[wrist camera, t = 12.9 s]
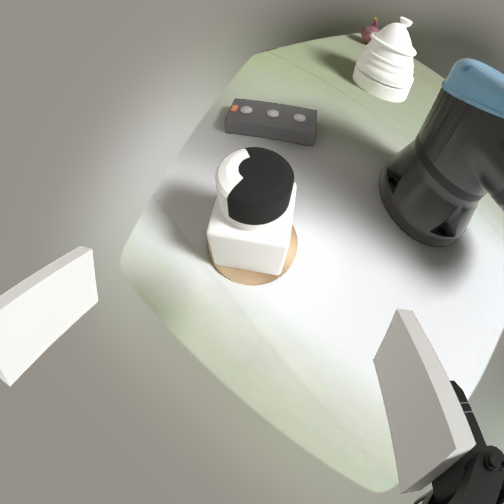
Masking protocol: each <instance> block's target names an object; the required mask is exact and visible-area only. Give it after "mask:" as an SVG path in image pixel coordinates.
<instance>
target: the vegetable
mask: <svg viewBox="0 0 504 504" xmlns="http://www.w3.org/2000/svg"><path fill="white" fill-rule="evenodd" d="M377 21H378V20H377V19H376V18H375V21H374V24H373V25H372V26H366V27H364V28H363V29H362V31H361V35H362V37H363V39H364V40H365V41H366V42H367V43H369V42H370V41H371V40H372V39H371V37H370V34H371V33H372V32H379V30H378V29H377Z"/></svg>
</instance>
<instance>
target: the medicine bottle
mask: <svg viewBox="0 0 504 504" xmlns="http://www.w3.org/2000/svg"><path fill="white" fill-rule="evenodd" d="M215 179H216V186H217V193H218V194H217V197H216V200H215V204H214V207H213V210H212V214H211V217H210V220H209V224H208V227H207V231H206V235H207V239H208V242H209V246H210V249H211V253H212V256H213V260H214V263H215V264H216V265H220V266H226V267H231V268H237V269H243V270H248V271H254V272H260V273H265V274H271V275H280V274H281V271H282V268H283V265H284V261H285V258H286V255H287V251H288V248H289V243H290V236H291V229H292V221H293V213H294V206H295V197H296V189H297V185H296V183H295V182H294V173H293V170H292V168H291V166H290V164H289V163H288V162H287V161H286V160H285V159H284V158H283V157H282V156H281V155H279V154H277V153H276V152H274V151H271V150H269V149H265V148H259V147H250V148H244V149H240V150H237V151H235V152H233V153H231V154H230V155H228V156H227V157H226V158H225V159H223V160H222V162H221V163H220V164H219V166H218V168H217V171H216V176H215Z"/></svg>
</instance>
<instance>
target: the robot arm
mask: <svg viewBox="0 0 504 504" xmlns="http://www.w3.org/2000/svg"><path fill="white" fill-rule="evenodd" d="M379 186H380V193H381V197H382V200H383V202H384V205H385V207H386V209H387V210H388V212H389V214H390V215H391V217H392V218H393V219H394V221H395V222H396V223H397V224H398V225H399V226H400V227H401V228H402V229H403V230H404V231H405V232H406V233H407V234H408V235H410V236H411V237H413V238H414V239H416V240H417V241H419V242H421V243H424V244H426V245H429V246H434V247H443V246H447V245H449V244H451V243H453V242H454V241H455V240H456V239H457V238H459V237H460V236H461V235H462V234H463V233H464V231H465V230H466V228H467V226H468V224H469V222H470V219H471V217H472V215H473V213H474V211H475V208H476V206H477V204H478V202H479V200H480V199H481V198H482V197H483V196H484V195H485V194H486V193H487V192H488V193H489V194H490V196H491V197H492V198H493V199H494V200H495V202H496V203H497V204H498V205H499V207H500V208H501V209H502V210H503V212H504V75H503V74H501V73H500V72H499V71H497V70H495V69H493V68H492V67H490V66H488V65H486V64H484V63H481V62H479V61H476V60H473V59H468V58H467V59H460V60H459V61H457V62H456V63H455V64H454V66H453V68H452V69H451V71H450V73H449V75H448V77H447V78H446V80H444V81H443V82H442V88H441V90H440V92H439V94H438V96H437V98H436V100H435V102H434V104H433V106H432V108H431V110H430V112H429V114H428V116H427V118H426V120H425V122H424V124H423V126H422V127H421V129H420V131H419V133H418V135H417V137H416V139H415V140H414V141H413V142H411V143H410V144H409V145H407V146H406V147H405V148H404V149H402V150H401V151H400V152H398V153H397V154H396V155H394V156H393V157H392V158H391V159H390V160H389V161H388V163H387V164H386V166H385V168H384V170H383V172H382V174H381V176H380V183H379ZM97 302H98V296H97V288H96V280H95V272H94V262H93V251H92V249H90V248H86V247H82V246H80V247H78V248H76V249H74V250H73V251H71V252H69V253H67V254H66V255H64V256H62V257H61V258H59V259H57V260H56V261H54V262H53V263H51V264H49V265H47V266H46V267H44V268H42V269H41V270H39V271H37V272H36V273H34V274H33V275H31V276H29V277H28V278H26V279H25V280H23V281H22V282H20V283H19V284H17V285H16V286H14V287H13V288H11V289H10V290H8V291H7V292H5V293H4V294H2V295H1V296H0V378H1V379H2V380H3V381H4V382H5V383H6V384H8V385H9V386H11V385H12V384H13V383H14V382H15V381H16V380H17V379H18V378H19V377H20V375H21V374H23V372H24V371H25V370H26V369H27V368H28V367H29V366H30V365H31V364H32V363H33V362H34V361H35V360H36V359H37V358H38V357H39V356H40V355H41V354H42V353H43V352H44V351H45V350H46V349H47V348H48V347H49V346H50V345H51V344H53V343H54V342H55V341H56V340H57V339H58V338H59V337H60V336H61V335H62V334H63V333H64V332H65V331H66V330H67V329H68V328H69V327H70V326H71V325H72V324H74V323H75V322H76V321H77V320H78V319H79V318H80V317H81V316H82V315H83V314H84V313H86V312H87V311H88V310H89V309H90V308H91V307H92V306H93V305H95V304H96V303H97ZM373 361H374V365H375V369H376V372H377V376H378V380H379V384H380V388H381V392H382V396H383V401H384V405H385V409H386V414H387V418H388V423H389V428H390V433H391V438H392V443H393V448H394V454H395V460H396V466H397V472H398V479H399V486H400V493H401V494H402V493H408V492H414V491H419V490H421V489H423V488H424V487H425V486H427V485H428V484H430V483H431V482H432V486H433V489H432V490H430V491H429V492H427V493H426V494H425V495H423V496H421V497H420V498H418V499H417V500H416V501H415V502H414V504H418V503H419V502H421V501H423V500H424V501H423V502H422V504H503V503H504V454H503V453H502V451H501V450H499V449H498V448H497V447H494V446H487V445H486V443H485V441H484V438H483V436H482V433H481V431H480V428H479V426H478V423H477V421H476V419H475V416H474V414H473V413H472V412H471V411H472V410H471V407H470V405H469V404H468V403H467V402H468V401H467V399H466V396H465V394H464V392H463V390H462V389H461V388H460V387H459V386H458V385H457V384H456V382H455V381H449V378H448V376H447V374H446V372H445V370H444V368H443V366H442V364H441V362H440V360H439V358H438V356H437V355H436V353H435V351H434V349H433V347H432V345H431V343H430V341H429V340H428V338H427V336H426V334H425V332H424V330H423V329H422V327H421V325H420V323H419V322H418V320H417V318H416V317H415V315H414V313H413V311H410V310H403V309H396V312H395V314H394V316H393V319H392V321H391V323H390V326H389V328H388V330H387V332H386V334H385V337H384V339H383V341H382V343H381V345H380V347H379V349H378V351H377V353H376V355H375V357H374V359H373Z"/></svg>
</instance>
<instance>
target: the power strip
mask: <svg viewBox="0 0 504 504" xmlns="http://www.w3.org/2000/svg"><path fill="white" fill-rule="evenodd" d="M316 120H317V110H312V109H307V108H301V107H296V106H290V105H284V104H277V103H270V102H263V101H255V100H246V99H234V101H233V103H232V106H231V108H230V110H229V112H228V114H227V117H226V119H225V129H226V133H232V134H240V135H248V136H255V137H262V138H269V139H275V140H281V141H287V142H293V143H298V144H304V145H309V146H313V142H314V138H315V134H316Z"/></svg>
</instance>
